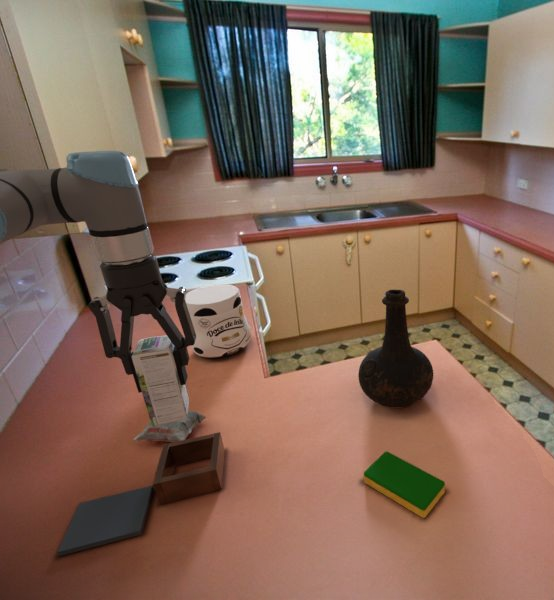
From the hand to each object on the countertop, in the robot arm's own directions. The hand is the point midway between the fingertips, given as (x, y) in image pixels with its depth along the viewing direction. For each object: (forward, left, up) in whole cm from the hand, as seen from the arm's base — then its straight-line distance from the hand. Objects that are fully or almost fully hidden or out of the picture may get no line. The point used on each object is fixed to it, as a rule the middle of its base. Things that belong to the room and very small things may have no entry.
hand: (163, 384), depth 74 cm
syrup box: (0, 0, -7) cm, 7 cm away
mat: (-13, -6, -22) cm, 26 cm away
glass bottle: (+45, +11, -22) cm, 52 cm away
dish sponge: (+38, -16, -22) cm, 47 cm away
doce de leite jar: (+3, +52, -22) cm, 56 cm away
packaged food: (-6, +14, -22) cm, 27 cm away
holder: (0, 0, -22) cm, 22 cm away
